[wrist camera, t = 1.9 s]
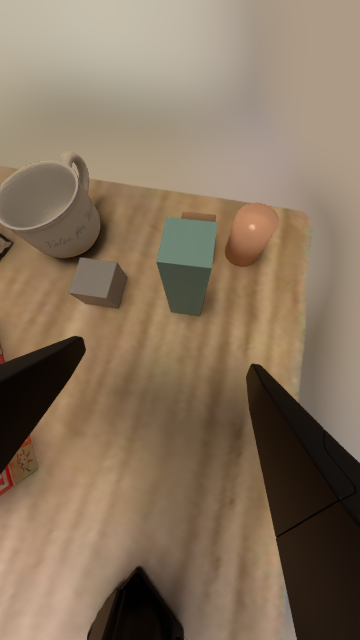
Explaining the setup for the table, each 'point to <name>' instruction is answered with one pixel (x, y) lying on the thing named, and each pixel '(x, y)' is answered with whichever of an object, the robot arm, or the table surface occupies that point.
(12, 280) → the table surface
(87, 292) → the gray block
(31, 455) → the stack of blocks
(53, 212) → the teacup
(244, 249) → the peach rounded cylinder
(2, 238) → the candy bar box
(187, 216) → the walnut cube
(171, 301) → the teal block
